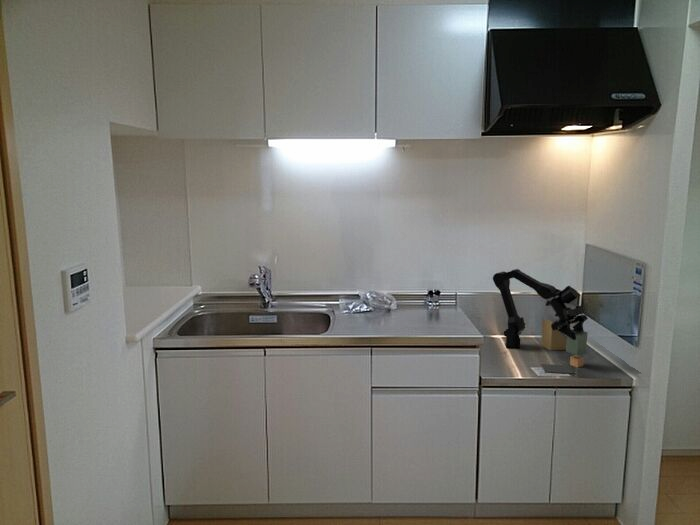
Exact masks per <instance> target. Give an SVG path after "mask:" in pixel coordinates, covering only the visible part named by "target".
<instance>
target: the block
mask: <svg viewBox="0 0 700 525" xmlns="http://www.w3.org/2000/svg"><path fill="white" fill-rule="evenodd" d="M569 357H570V358H569V359H570V360H569V366H573V367H576V368H580V367H584V362H585V360H584V359H585V357H583V356H582V355H578V356H577V355H574V354H573V355H571V356H569Z"/></svg>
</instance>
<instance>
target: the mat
mask: <svg viewBox="0 0 700 525" xmlns="http://www.w3.org/2000/svg"><path fill="white" fill-rule="evenodd" d="M540 366H541V367H542V369H543V371H544V373H549V374H563V375H574V374H575V373H574V371H573V369H572V368H571V367H570V365H566V364H550V363H549V364H547V363H541V364H540Z"/></svg>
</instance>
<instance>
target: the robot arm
mask: <svg viewBox="0 0 700 525" xmlns="http://www.w3.org/2000/svg"><path fill="white" fill-rule="evenodd" d="M511 279H515V280H517V281H519V282H520V283H522V284H524V285H525V286H527V287H529V288H531V289H533V290H534V291H535V292H536V294H537V295H539V296H540V297H541V298H542V299H544V300H546V303H545V306H546V307H551V309H553V310H554V312H555V314H554V316H555V317H558V319H556V320H554V322H553V323H552V324H551V328H552V330H553V331H554V330H557V329H558V331H560V332H562V333H563V334H564V335H565V336H566V337H567V336H568V337H570V338H571V339H573V340H575V339H576V338H575V336H574V334H573V332H572V331H571V330H573V329H578V330H582V331H584V322H586V321H587V320H588V319H589V318H588V317H587V315H586V314H584V311H585V310H584V308H583V306H582V305H577V306H575V308H571V307H568V306H567V305H569V304H571V303H572V302H574V301H576V300H577V299H578V298H580V293H579V292H578V291H577V290H576V289H575V288H574V287H572V286H571V285H567V286H565V288H563V289H557V288H556V287H555V286H554V285H551V284H548V283H546V282H541V281H538V280H537V279H536V278H533V277H532V276H530V275H528V274H526V273H525V272H523V271H522V270H520V269H519V268H515V269H512V270H511V271H507V272H506V271H499V272H496V273H495V274H493V276H492V281H493V283H494V285H495V287H496V288H497V289H498V290H499V292H500V295H501V299H502V301H503V305H504V307H505V311H506V314H507V329H506V330H504V331H503V336H505V343H504V346H505V348H506V349H517V350H519V349H520V347H521V338H520V335H522V334H521V333H522V332H524V331H525V329H526V323H525V320H524V319H525V318H524V317H523V316H522V317H521V316H519V314H518V311H517V309H516V305H515V302H514V299H513V295H512V292H511V289H510V286H511ZM566 304H567V305H566ZM571 325H573V326H572V328H571Z"/></svg>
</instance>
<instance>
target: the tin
mask: <svg viewBox="0 0 700 525" xmlns="http://www.w3.org/2000/svg"><path fill="white" fill-rule="evenodd" d="M571 331H572V332H573V334H574V336H575V338H576V339H575V340H573V339H571V338H570V337H568V336H567V335H566V337H567V341H566V349H565V352H567V353H568V354H572V355H573V356H574V355H577V356H582V355H585V354H587V343H588V333H589V332H587V331H582V330H578V329H573V328H572V329H571Z"/></svg>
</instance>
